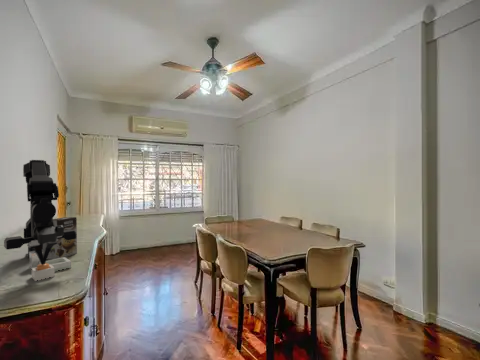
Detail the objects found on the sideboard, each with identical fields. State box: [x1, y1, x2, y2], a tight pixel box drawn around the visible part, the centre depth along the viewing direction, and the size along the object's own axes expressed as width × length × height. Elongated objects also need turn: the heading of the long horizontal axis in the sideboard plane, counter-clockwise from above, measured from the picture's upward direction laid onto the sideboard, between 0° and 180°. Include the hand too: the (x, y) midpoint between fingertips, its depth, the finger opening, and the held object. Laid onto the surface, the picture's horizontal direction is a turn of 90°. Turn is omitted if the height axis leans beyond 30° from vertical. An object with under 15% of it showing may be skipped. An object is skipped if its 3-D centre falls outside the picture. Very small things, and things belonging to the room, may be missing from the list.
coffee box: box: [47, 216, 78, 260], centre depth 111 cm, size 9×6×16 cm
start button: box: [37, 263, 49, 271], centre depth 87 cm, size 3×3×2 cm
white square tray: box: [39, 257, 72, 272], centre depth 96 cm, size 8×8×2 cm
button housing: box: [31, 264, 56, 282], centre depth 87 cm, size 5×5×3 cm
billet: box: [29, 249, 43, 270], centre depth 97 cm, size 4×4×6 cm
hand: (43, 264), depth 87 cm, fingers closed
